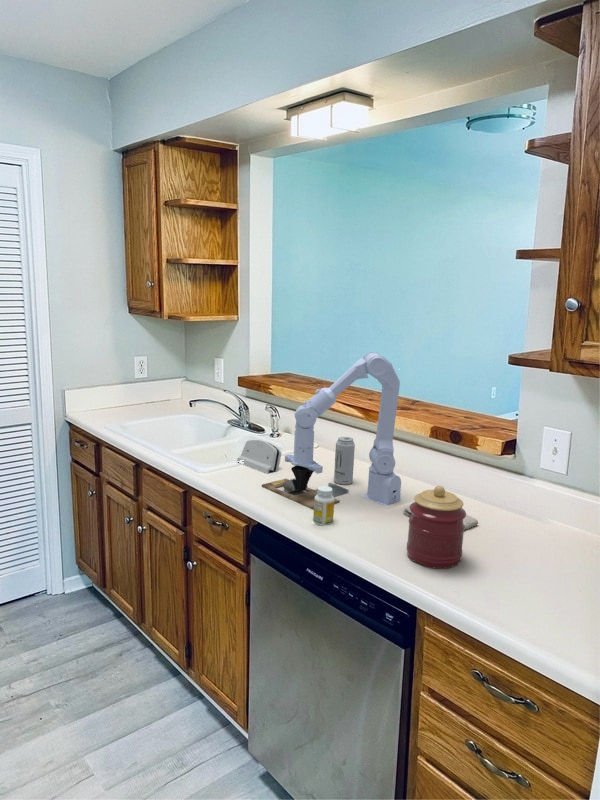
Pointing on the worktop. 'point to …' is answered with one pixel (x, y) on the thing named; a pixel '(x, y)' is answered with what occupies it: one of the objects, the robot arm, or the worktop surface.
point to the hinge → (261, 456)
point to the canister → (436, 528)
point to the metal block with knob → (290, 486)
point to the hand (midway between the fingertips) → (302, 490)
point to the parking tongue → (337, 490)
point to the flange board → (302, 498)
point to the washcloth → (467, 521)
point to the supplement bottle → (323, 506)
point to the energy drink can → (344, 461)
